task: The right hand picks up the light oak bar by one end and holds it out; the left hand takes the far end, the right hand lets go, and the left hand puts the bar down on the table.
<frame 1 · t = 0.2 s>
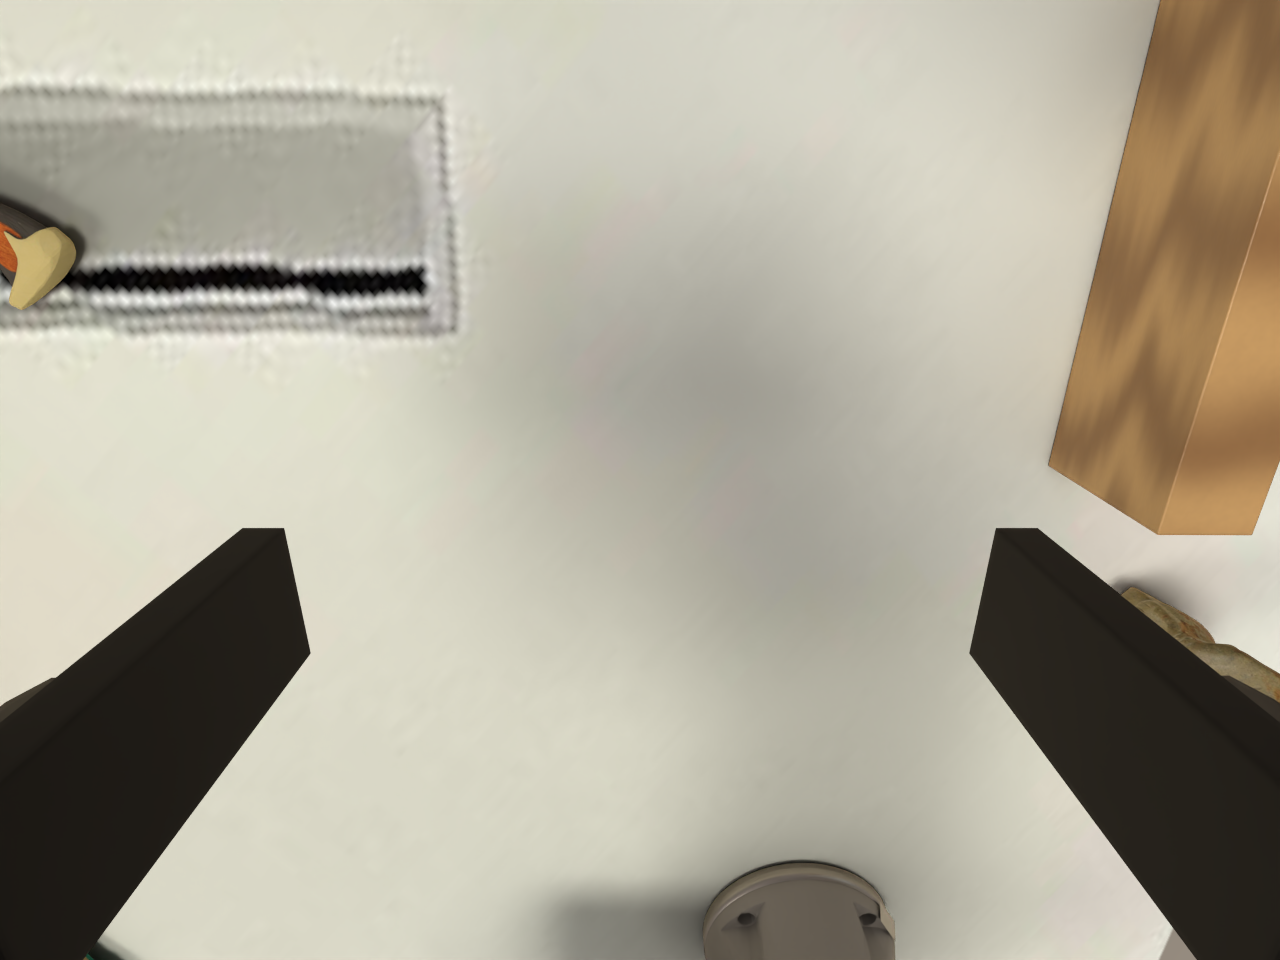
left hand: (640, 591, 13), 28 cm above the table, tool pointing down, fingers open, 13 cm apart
sculpture: (1131, 619, 46), on the table
bar: (1145, 236, 37), on the table
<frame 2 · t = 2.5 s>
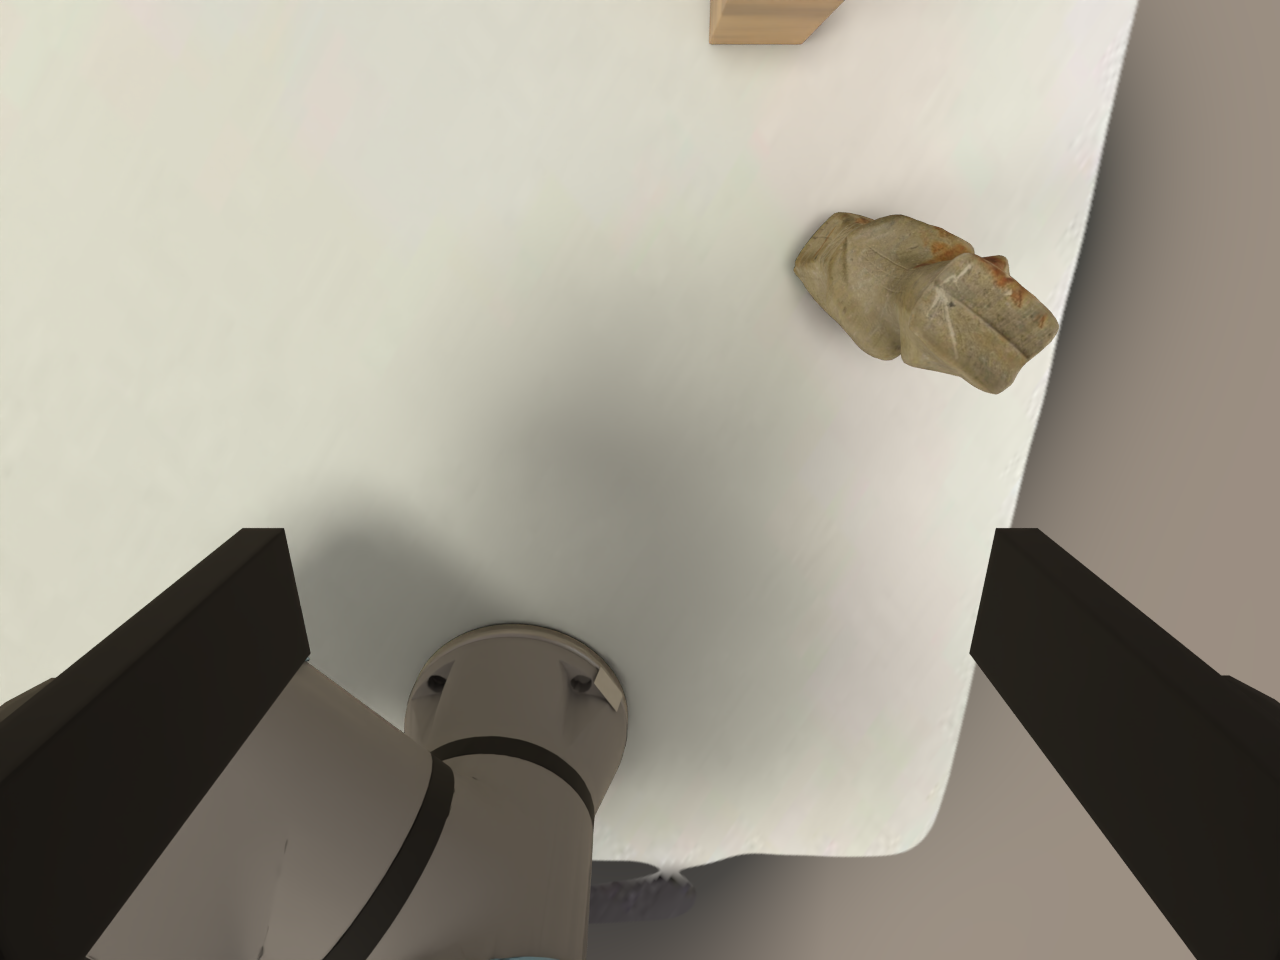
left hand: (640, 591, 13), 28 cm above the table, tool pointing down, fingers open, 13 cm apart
sculpture: (848, 275, 38), on the table
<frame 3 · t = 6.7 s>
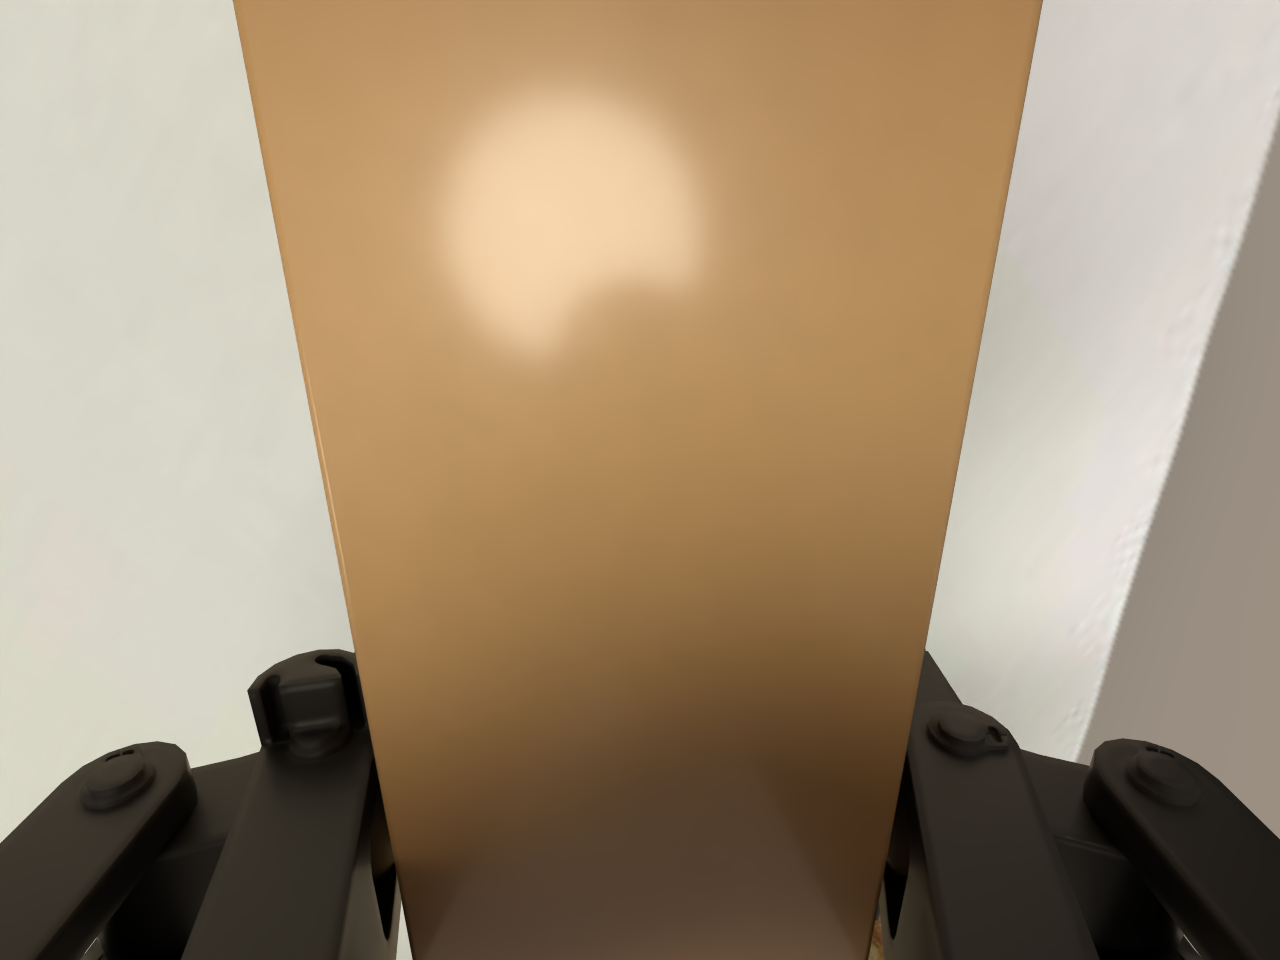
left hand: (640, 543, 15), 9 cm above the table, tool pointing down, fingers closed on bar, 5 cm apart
sculpture: (779, 762, 29), on the table
bar: (638, 36, 12), point 8 cm above the table, touching left hand, right hand
when the right hand's fingers open (13 cm above the table, at t = 7.5 s): bar stays where it is, held by the left hand.
when the left hand's fingers open (2 cm above the table, at t = 17.6 s): bar stays where it is, on the table.
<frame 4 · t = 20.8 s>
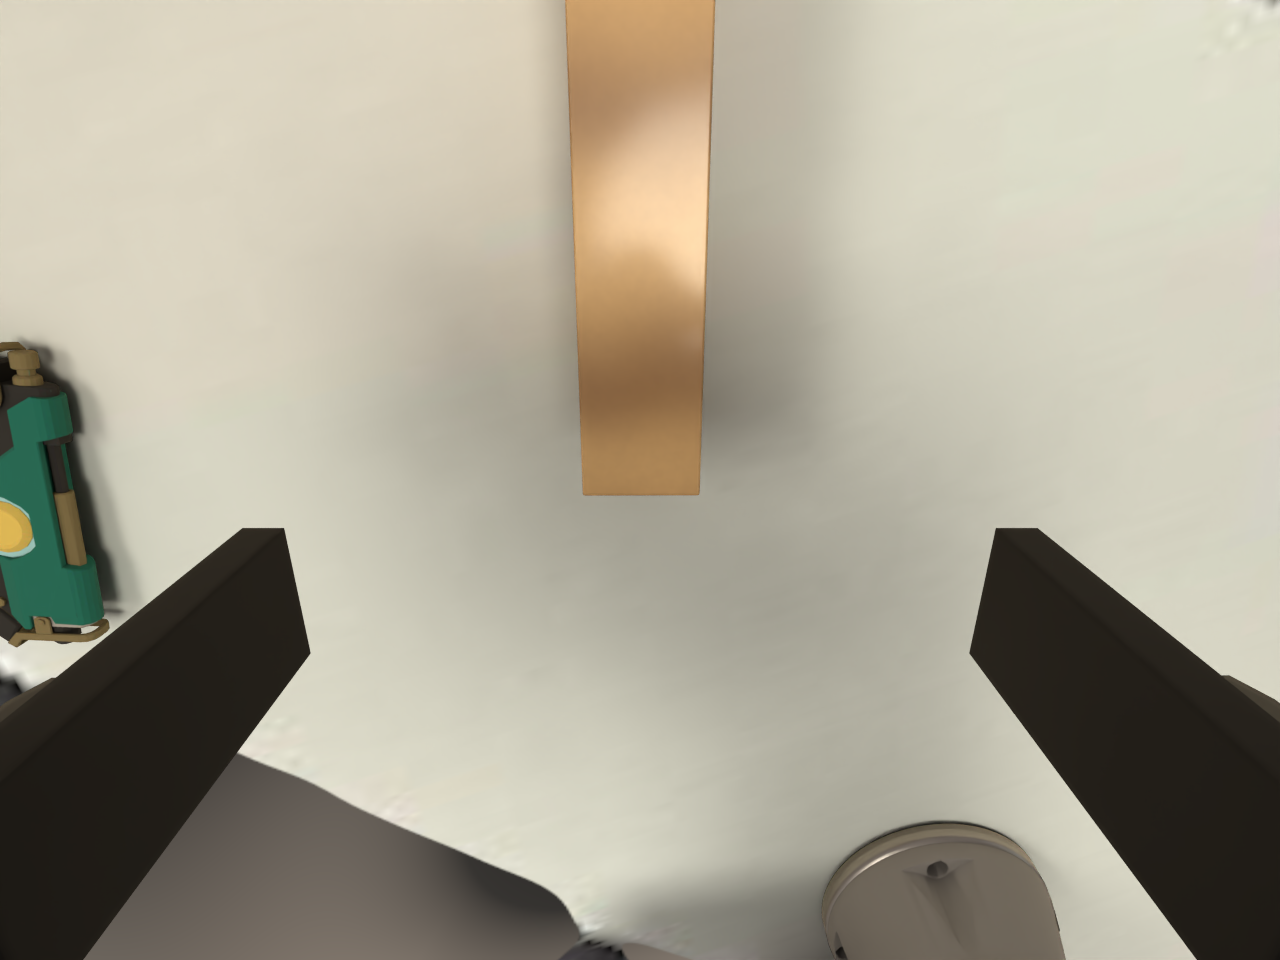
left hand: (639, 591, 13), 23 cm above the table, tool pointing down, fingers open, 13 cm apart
bar: (640, 144, 31), on the table
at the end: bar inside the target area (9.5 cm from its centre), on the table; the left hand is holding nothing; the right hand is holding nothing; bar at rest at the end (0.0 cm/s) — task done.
